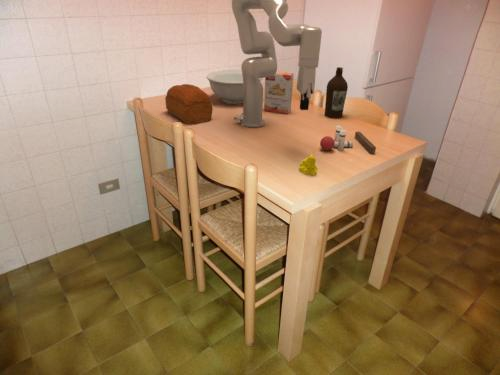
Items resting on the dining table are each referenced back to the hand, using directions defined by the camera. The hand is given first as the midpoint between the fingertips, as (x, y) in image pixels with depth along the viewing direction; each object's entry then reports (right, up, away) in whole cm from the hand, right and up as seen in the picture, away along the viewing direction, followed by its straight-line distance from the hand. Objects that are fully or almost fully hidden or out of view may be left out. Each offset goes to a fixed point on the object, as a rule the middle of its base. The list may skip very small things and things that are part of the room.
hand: (303, 109), depth 145 cm
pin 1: (+16, -13, +12) cm, 24 cm away
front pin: (+14, -13, +9) cm, 21 cm away
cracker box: (-7, +10, +52) cm, 54 cm away
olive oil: (+23, +7, +48) cm, 53 cm away
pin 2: (+17, -15, +8) cm, 24 cm away
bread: (-54, +6, +43) cm, 69 cm away
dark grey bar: (+28, -13, +12) cm, 34 cm away
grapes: (0, -26, -10) cm, 28 cm away
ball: (+11, -13, +6) cm, 18 cm away
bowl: (-31, +21, +70) cm, 79 cm away
